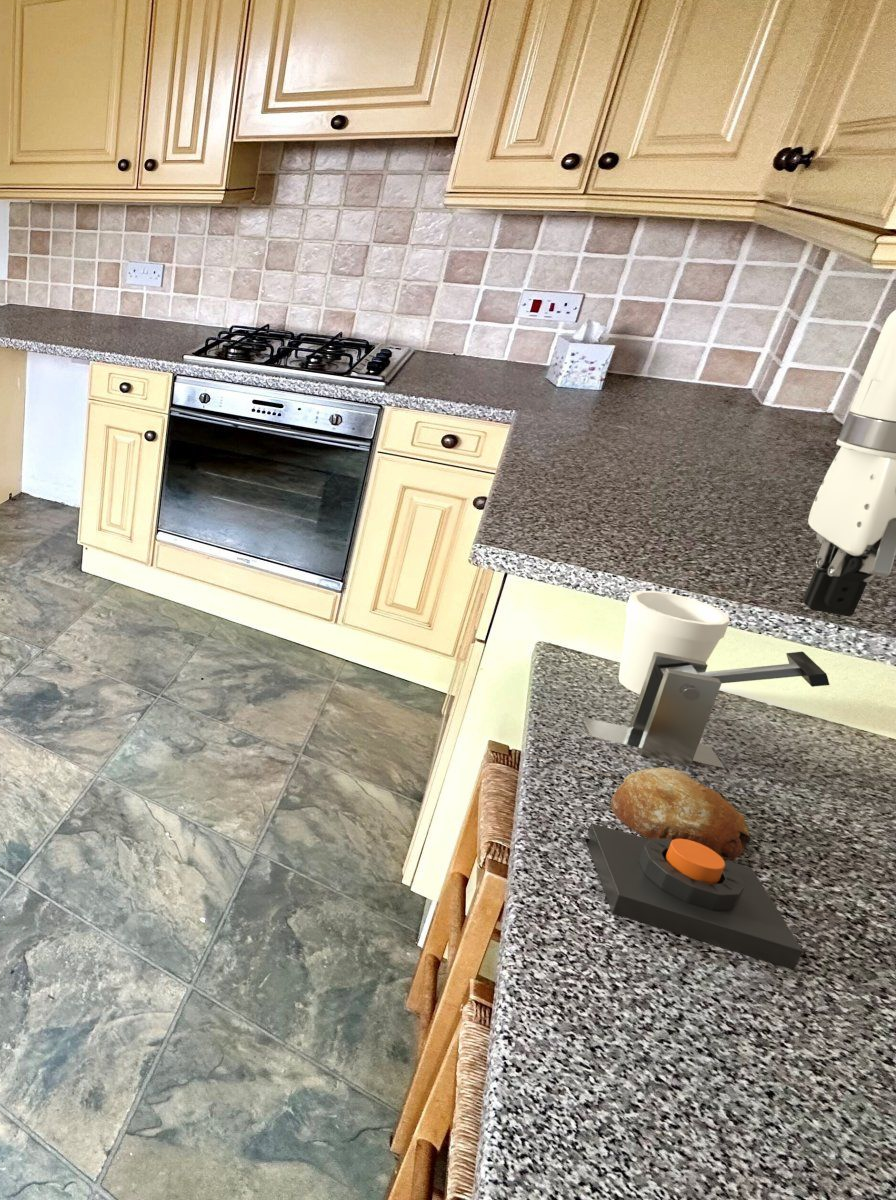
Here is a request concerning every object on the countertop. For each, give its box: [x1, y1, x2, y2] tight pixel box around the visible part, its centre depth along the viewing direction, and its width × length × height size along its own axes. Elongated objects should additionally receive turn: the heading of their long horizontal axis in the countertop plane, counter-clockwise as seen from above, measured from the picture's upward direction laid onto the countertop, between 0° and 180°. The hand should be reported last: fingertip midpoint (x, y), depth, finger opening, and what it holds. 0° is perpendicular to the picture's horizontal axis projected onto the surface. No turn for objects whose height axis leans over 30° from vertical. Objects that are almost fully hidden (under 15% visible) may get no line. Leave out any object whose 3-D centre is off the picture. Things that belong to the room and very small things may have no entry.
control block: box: [584, 822, 804, 971], centre depth 71 cm, size 12×10×4 cm
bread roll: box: [610, 766, 752, 860], centre depth 79 cm, size 10×10×8 cm
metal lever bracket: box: [580, 652, 726, 769], centre depth 88 cm, size 12×9×13 cm
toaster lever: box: [660, 651, 830, 688], centre depth 84 cm, size 12×5×2 cm, turn 64°
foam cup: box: [618, 590, 731, 695], centre depth 101 cm, size 10×9×13 cm
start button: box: [665, 839, 725, 884], centre depth 70 cm, size 4×4×2 cm
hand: (826, 609), depth 79 cm, fingers closed
